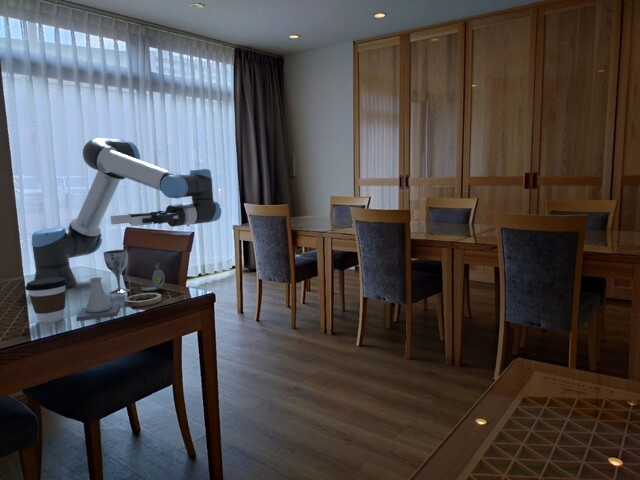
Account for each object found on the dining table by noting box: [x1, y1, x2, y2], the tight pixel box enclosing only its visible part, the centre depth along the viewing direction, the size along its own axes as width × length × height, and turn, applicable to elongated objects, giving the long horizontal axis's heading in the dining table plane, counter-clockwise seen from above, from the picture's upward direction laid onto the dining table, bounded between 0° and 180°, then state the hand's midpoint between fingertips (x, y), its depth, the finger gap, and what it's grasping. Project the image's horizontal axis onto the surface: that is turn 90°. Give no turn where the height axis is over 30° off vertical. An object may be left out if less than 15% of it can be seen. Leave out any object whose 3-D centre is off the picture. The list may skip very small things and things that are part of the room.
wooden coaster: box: [123, 292, 162, 308], centre depth 157 cm, size 11×11×2 cm
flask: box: [85, 276, 112, 313], centre depth 145 cm, size 7×7×10 cm
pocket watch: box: [141, 262, 166, 292], centre depth 173 cm, size 8×8×10 cm
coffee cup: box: [24, 277, 68, 324], centre depth 140 cm, size 11×11×12 cm
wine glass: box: [103, 249, 131, 295], centre depth 173 cm, size 8×8×15 cm
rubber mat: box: [76, 302, 121, 321], centre depth 146 cm, size 11×11×1 cm
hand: (121, 221), depth 149 cm, fingers open, 13 cm apart
